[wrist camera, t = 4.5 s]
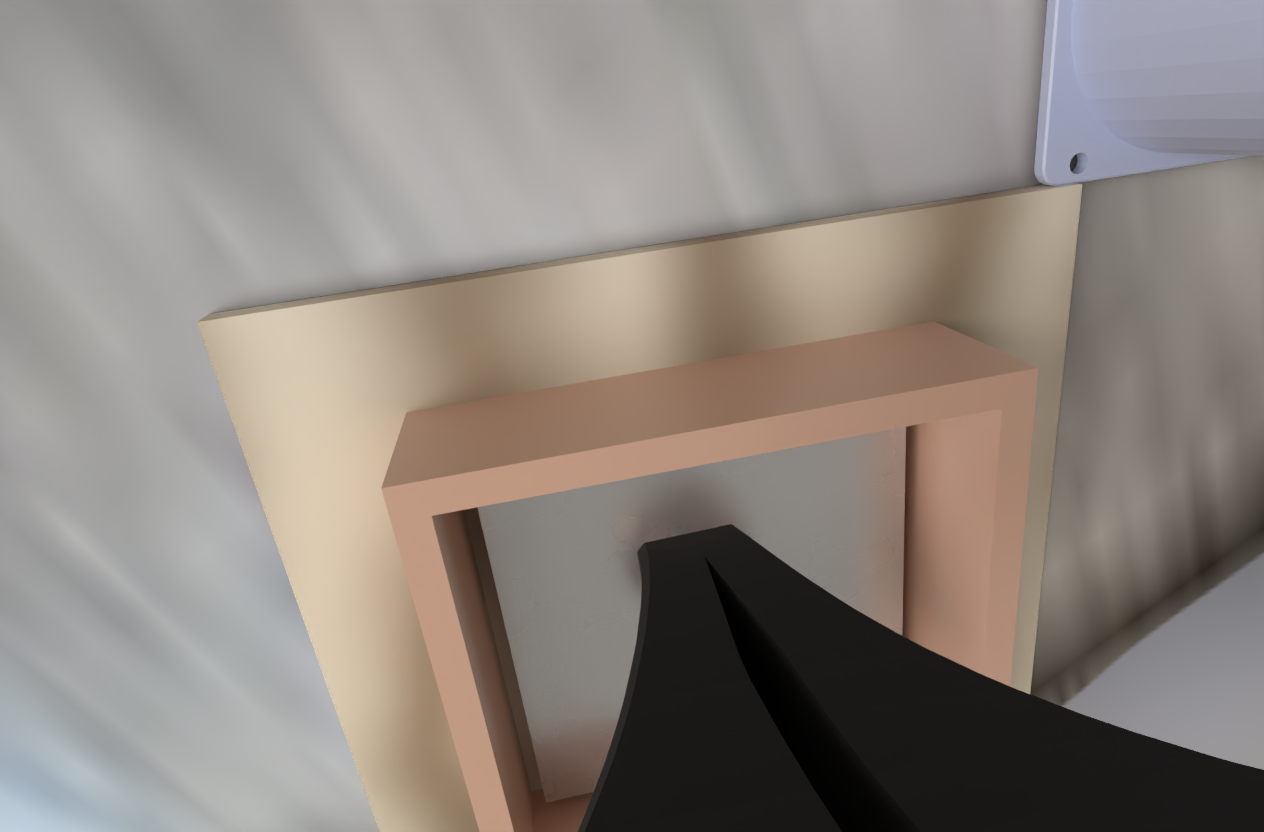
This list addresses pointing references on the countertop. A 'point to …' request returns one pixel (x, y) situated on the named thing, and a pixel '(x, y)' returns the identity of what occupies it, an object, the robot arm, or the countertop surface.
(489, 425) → the pink square tray
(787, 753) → the robot arm
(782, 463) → the square lid with knob
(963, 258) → the serving board
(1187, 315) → the countertop surface
